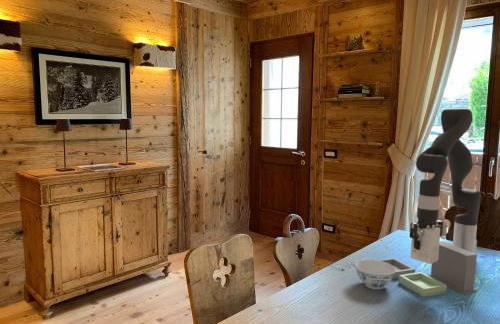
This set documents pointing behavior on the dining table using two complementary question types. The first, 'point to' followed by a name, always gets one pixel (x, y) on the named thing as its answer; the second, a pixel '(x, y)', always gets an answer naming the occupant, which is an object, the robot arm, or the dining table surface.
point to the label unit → (455, 268)
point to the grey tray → (399, 267)
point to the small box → (427, 246)
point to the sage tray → (422, 284)
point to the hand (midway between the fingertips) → (424, 248)
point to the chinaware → (375, 273)
